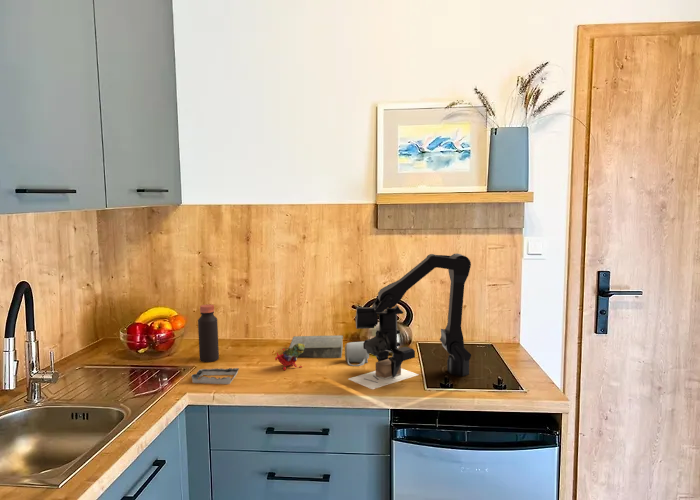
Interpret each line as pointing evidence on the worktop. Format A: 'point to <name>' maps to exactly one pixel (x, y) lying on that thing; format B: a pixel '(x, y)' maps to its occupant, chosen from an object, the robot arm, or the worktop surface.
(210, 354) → the bottle
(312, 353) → the stone block
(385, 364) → the sanding block
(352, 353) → the ceramic mug
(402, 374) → the board
